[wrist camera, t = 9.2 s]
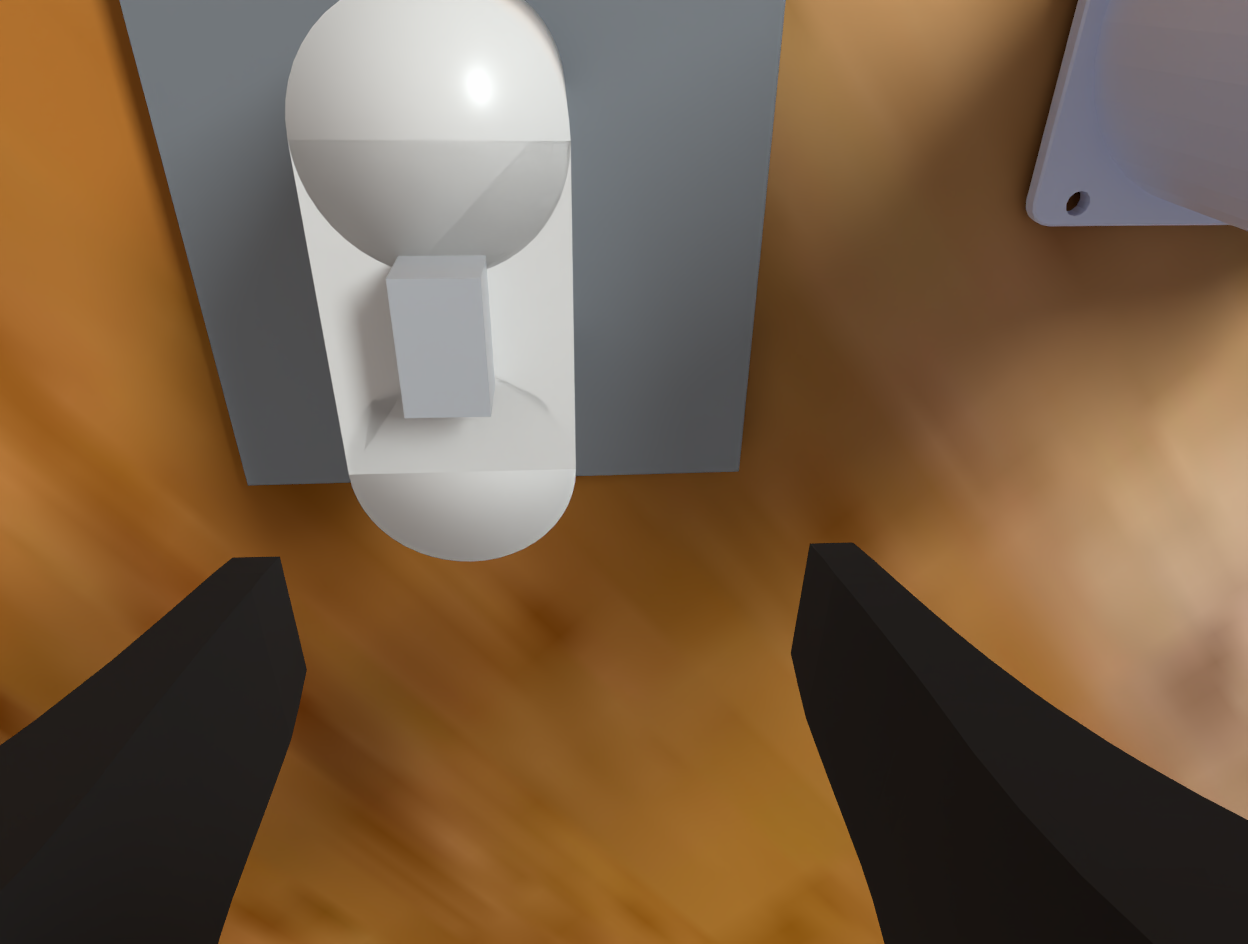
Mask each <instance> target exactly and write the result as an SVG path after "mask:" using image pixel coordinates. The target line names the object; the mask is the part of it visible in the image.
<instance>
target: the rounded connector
mask: <svg viewBox="0 0 1248 944" xmlns="http://www.w3.org/2000/svg"><path fill="white" fill-rule="evenodd" d="M285 123H286V131H287V139H288V145H289V150H290V156H291V161H292V167H293V172H294V178H295V183H296V189H297V194H298V199H299V205H300V210H301V216H302V221H303V227H304V232H305V238H306V243H307V249H308V254H309V260H310V265H311V270H312V276H313V281H314V287H315V292H316V298H317V303H318V309H319V314H320V320H321V325H322V330H323V336H324V341H325V347H326V352H327V358H328V363H329V369H330V374H331V380H332V385H333V391H334V396H335V401H336V407H337V412H338V418H339V423H340V429H341V434H342V440H343V445H344V451H345V456H346V462H347V467H348V472H349V477H350V481H351V485H352V488H353V490H354V493H355V495H356V497H357V499H358V501H359V503H360V504H361V506H362V508H363V509H364V511H365V512H366V513H367V515H368V516H369V517H370V518H371V520H372V521H373V522H374V523H375V524H376V525H377V526H378V527H379V528H380V529H381V530H382V531H384V532H385V533H386V534H387V535H389V536H390V537H391V538H393V539H394V540H396V541H398V542H399V543H401V544H403V545H404V546H406V547H408V548H410V549H413V550H415V551H417V552H420V553H423V554H426V555H428V556H432V557H436V558H440V559H445V560H453V561H483V560H490V559H495V558H500V557H503V556H507V555H510V554H513V553H515V552H517V551H520V550H522V549H524V548H526V547H528V546H529V545H531V544H533V543H535V542H536V541H537V540H539V539H540V538H541V537H543V536H544V535H545V534H546V533H547V532H548V531H549V530H550V529H551V528H552V527H553V526H554V525H555V524H556V523H557V522H558V520H559V519H560V518H561V516H562V515H563V513H564V511H565V510H566V508H567V506H568V504H569V501H570V499H571V496H572V493H573V489H574V484H575V475H576V448H575V384H574V320H573V256H572V192H571V138H570V125H569V116H568V107H567V98H566V90H565V81H564V73H563V68H562V63H561V58H560V55H559V52H558V49H557V46H556V44H555V41H554V39H553V37H552V35H551V33H550V31H549V30H548V28H547V26H546V25H545V23H544V21H543V20H542V19H541V18H540V16H539V15H538V14H537V12H536V11H535V10H534V9H533V8H532V7H531V6H530V5H529V4H528V3H527V2H526V1H525V0H339V1H338V2H337V3H336V4H334V5H333V6H332V7H331V8H330V9H328V10H327V11H326V12H325V13H324V14H323V15H322V16H321V17H320V18H319V20H318V21H317V22H316V23H315V24H314V25H313V26H312V28H311V29H310V31H309V32H308V34H307V36H306V37H305V39H304V40H303V42H302V43H301V46H300V48H299V50H298V52H297V55H296V57H295V59H294V61H293V65H292V68H291V72H290V75H289V79H288V84H287V92H286V99H285Z"/></svg>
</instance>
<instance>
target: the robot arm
mask: <svg viewBox="0 0 1248 944" xmlns="http://www.w3.org/2000/svg"><path fill="white" fill-rule="evenodd" d="M1076 192H1080V200H1079V202H1078V204H1077V206H1075V207H1074V208H1073V209H1072V210H1069V211H1066V203H1067V202H1068V200H1069V198H1070V197H1071V196H1072V195H1073V194H1074V193H1076ZM1026 211H1027V214H1028V216H1029V217H1030V218H1031V219H1032V220H1033V221H1035V222H1037V223H1039V224H1041V225H1045V226H1152V225H1232V226H1235V227H1238V228H1240V229H1243V230H1246V231H1248V0H1078V3H1077V7H1076V10H1075V14H1074V18H1073V22H1072V26H1071V30H1070V34H1069V37H1068V41H1067V45H1066V49H1065V53H1064V57H1063V61H1062V64H1061V68H1060V72H1059V76H1058V80H1057V84H1056V88H1055V91H1054V95H1053V99H1052V103H1051V107H1050V111H1049V115H1048V118H1047V122H1046V126H1045V130H1044V134H1043V138H1042V142H1041V145H1040V149H1039V153H1038V157H1037V161H1036V165H1035V169H1034V172H1033V176H1032V180H1031V184H1030V188H1029V192H1028V196H1027V199H1026ZM791 656H792V660H793V665H794V669H795V674H796V678H797V683H798V687H799V691H800V695H801V699H802V703H803V707H804V712H805V716H806V719H807V722H808V725H809V727H810V730H811V733H812V736H813V738H814V741H815V744H816V747H817V749H818V752H819V755H820V757H821V760H822V763H823V765H824V768H825V771H826V773H827V776H828V779H829V781H830V784H831V787H832V789H833V792H834V795H835V797H836V800H837V802H838V805H839V808H840V810H841V813H842V816H843V818H844V821H845V824H846V826H847V829H848V831H849V834H850V837H851V839H852V842H853V845H854V847H855V850H856V853H857V855H858V858H859V860H860V863H861V866H862V869H863V872H864V875H865V878H866V881H867V884H868V887H869V890H870V893H871V896H872V899H873V903H874V906H875V910H876V914H877V917H878V921H879V925H880V928H881V932H882V936H883V939H884V943H885V944H1248V820H1246V819H1244V818H1243V817H1241V816H1239V815H1237V814H1235V813H1233V812H1231V811H1229V810H1227V809H1225V808H1223V807H1222V806H1220V805H1218V804H1216V803H1214V802H1212V801H1210V800H1208V799H1206V798H1204V797H1202V796H1201V795H1199V794H1197V793H1195V792H1193V791H1192V790H1190V789H1188V788H1186V787H1184V786H1183V785H1181V784H1179V783H1177V782H1176V781H1174V780H1172V779H1170V778H1169V777H1167V776H1165V775H1163V774H1162V773H1160V772H1158V771H1156V770H1155V769H1153V768H1151V767H1149V766H1147V765H1146V764H1144V763H1142V762H1140V761H1139V760H1137V759H1135V758H1134V757H1132V756H1130V755H1129V754H1127V753H1125V752H1124V751H1122V750H1120V749H1119V748H1117V747H1116V746H1114V745H1112V744H1111V743H1109V742H1107V741H1106V740H1104V739H1103V738H1101V737H1100V736H1098V735H1097V734H1095V733H1094V732H1092V731H1090V730H1089V729H1087V728H1086V727H1084V726H1083V725H1081V724H1080V723H1078V722H1077V721H1075V720H1074V719H1072V718H1071V717H1069V716H1068V715H1066V714H1065V713H1063V712H1062V711H1060V710H1058V709H1057V708H1055V707H1054V706H1053V705H1051V704H1050V703H1048V702H1047V701H1045V700H1044V699H1043V698H1041V697H1040V696H1038V695H1037V694H1035V693H1034V692H1033V691H1031V690H1030V689H1029V688H1027V687H1026V686H1025V685H1023V684H1022V683H1021V682H1019V681H1018V680H1017V679H1015V678H1014V677H1013V676H1011V675H1010V674H1009V673H1007V672H1006V671H1005V670H1003V669H1002V668H1001V667H999V666H998V665H997V664H995V663H994V662H993V661H991V660H990V659H989V658H988V657H986V656H985V655H984V654H983V653H981V652H980V651H979V650H978V649H976V648H975V647H974V646H973V645H971V644H970V643H969V642H968V641H966V640H965V639H964V638H963V637H961V636H960V635H959V634H958V633H957V632H955V631H954V630H953V629H952V628H951V627H949V626H948V625H947V624H946V623H945V622H943V621H942V620H941V619H940V618H939V617H938V616H936V615H935V614H934V613H933V612H932V611H931V610H929V609H928V608H927V607H926V606H925V605H924V604H923V603H921V602H920V601H919V600H918V599H917V598H916V597H915V596H913V595H912V594H911V593H910V592H909V591H908V590H907V589H905V588H904V587H903V586H902V585H901V584H900V583H899V582H898V581H896V580H895V579H894V578H893V577H892V576H891V575H890V574H889V573H887V572H886V571H885V570H884V569H883V568H882V567H881V566H880V565H878V564H877V563H876V562H875V561H874V560H873V559H872V558H870V557H869V556H868V555H867V554H866V553H865V552H863V551H862V550H861V549H860V548H859V547H857V546H856V545H855V544H854V543H818V544H810V547H809V552H808V558H807V564H806V570H805V575H804V581H803V587H802V592H801V598H800V604H799V609H798V615H797V621H796V627H795V632H794V638H793V644H792V649H791ZM306 671H307V669H306V665H305V661H304V656H303V652H302V648H301V644H300V640H299V635H298V631H297V627H296V623H295V619H294V614H293V610H292V606H291V602H290V598H289V594H288V589H287V585H286V581H285V577H284V573H283V568H282V564H281V560H280V557H245V558H232V559H231V560H229V561H228V562H227V563H225V564H224V565H223V566H222V567H220V568H219V569H218V570H217V571H216V572H215V573H213V574H212V575H211V576H210V577H209V578H207V579H206V580H205V581H204V582H203V583H202V584H201V585H199V586H198V587H197V588H196V589H195V590H194V591H192V592H191V593H190V594H189V595H188V596H187V597H186V598H184V599H183V600H182V601H181V602H180V603H179V604H178V605H176V606H175V607H174V608H173V609H172V610H171V611H170V612H168V613H167V614H166V615H165V616H164V617H163V618H161V619H160V620H159V621H158V622H157V623H156V624H154V625H153V626H152V627H151V628H150V629H148V630H147V631H146V632H145V633H144V634H143V635H141V636H140V637H139V638H138V639H137V640H135V641H134V642H133V643H132V644H131V645H130V646H128V647H127V648H126V649H125V650H124V651H122V652H121V653H120V654H119V655H118V656H117V657H115V658H114V659H113V660H112V661H111V662H109V663H108V664H107V665H106V666H104V667H103V668H102V669H100V670H99V671H98V672H97V673H95V674H94V675H93V676H91V677H90V678H89V679H88V680H86V681H85V682H84V683H82V684H81V685H80V686H79V687H77V688H76V689H75V690H73V691H72V692H71V693H70V694H68V695H67V696H66V697H64V698H63V699H62V700H61V701H59V702H58V703H57V704H56V705H54V706H53V707H52V708H50V709H49V710H48V711H47V712H45V713H44V714H43V715H41V716H40V717H39V718H38V719H36V720H35V721H33V722H32V723H31V724H29V725H28V726H27V727H25V728H24V729H23V730H21V731H20V732H18V733H17V734H16V735H14V736H13V737H11V738H10V739H9V740H7V741H6V742H4V743H3V744H1V745H0V944H218V942H219V938H220V935H221V932H222V929H223V926H224V923H225V920H226V917H227V913H228V910H229V907H230V904H231V901H232V898H233V896H234V893H235V890H236V888H237V885H238V882H239V880H240V877H241V874H242V871H243V869H244V866H245V863H246V861H247V858H248V855H249V853H250V850H251V847H252V845H253V842H254V839H255V837H256V834H257V831H258V829H259V826H260V823H261V820H262V818H263V815H264V812H265V810H266V807H267V804H268V802H269V799H270V796H271V794H272V791H273V788H274V785H275V783H276V780H277V777H278V774H279V772H280V769H281V766H282V763H283V761H284V758H285V755H286V752H287V749H288V747H289V744H290V741H291V738H292V733H293V729H294V725H295V721H296V717H297V712H298V708H299V704H300V699H301V694H302V689H303V685H304V680H305V675H306Z"/></svg>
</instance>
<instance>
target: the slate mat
mask: <svg viewBox="0 0 1248 944" xmlns="http://www.w3.org/2000/svg"><path fill="white" fill-rule="evenodd" d="M119 1H120V5H121V8H122V12H123V16H124V20H125V24H126V27H127V31H128V35H129V39H130V42H131V46H132V50H133V54H134V58H135V61H136V65H137V69H138V73H139V76H140V80H141V84H142V88H143V91H144V95H145V99H146V103H147V107H148V110H149V114H150V118H151V122H152V125H153V129H154V133H155V137H156V141H157V144H158V148H159V152H160V156H161V159H162V163H163V167H164V171H165V174H166V178H167V182H168V186H169V190H170V193H171V197H172V201H173V205H174V208H175V212H176V216H177V220H178V223H179V227H180V231H181V235H182V239H183V242H184V246H185V250H186V254H187V257H188V261H189V265H190V269H191V273H192V276H193V280H194V284H195V288H196V291H197V295H198V299H199V303H200V306H201V310H202V314H203V318H204V322H205V325H206V329H207V333H208V337H209V340H210V344H211V348H212V352H213V355H214V359H215V363H216V367H217V371H218V374H219V378H220V382H221V386H222V389H223V393H224V397H225V401H226V405H227V408H228V412H229V416H230V420H231V423H232V427H233V431H234V435H235V438H236V442H237V446H238V450H239V454H240V457H241V461H242V465H243V469H244V472H245V476H246V480H247V484H248V485H279V484H315V483H350V482H351V481H350V477H349V472H348V467H347V462H346V456H345V451H344V445H343V440H342V434H341V429H340V423H339V418H338V412H337V407H336V401H335V396H334V391H333V385H332V380H331V374H330V369H329V363H328V358H327V352H326V347H325V341H324V336H323V330H322V325H321V320H320V314H319V309H318V303H317V298H316V292H315V287H314V281H313V276H312V270H311V265H310V260H309V254H308V249H307V243H306V238H305V232H304V227H303V221H302V216H301V210H300V205H299V199H298V194H297V189H296V183H295V178H294V172H293V167H292V161H291V156H290V150H289V145H288V139H287V131H286V123H285V99H286V92H287V84H288V79H289V75H290V72H291V68H292V65H293V61H294V59H295V57H296V55H297V52H298V50H299V48H300V46H301V43H302V42H303V40H304V39H305V37H306V36H307V34H308V32H309V31H310V29H311V28H312V26H313V25H314V24H315V23H316V22H317V21H318V20H319V18H320V17H321V16H322V15H323V14H324V13H325V12H326V11H327V10H328V9H330V8H331V7H332V6H333V5H334V4H336V3H337V2H338V1H339V0H119ZM525 1H526V2H527V3H528V4H529V5H530V6H531V7H532V8H533V9H534V10H535V11H536V12H537V14H538V15H539V16H540V18H541V19H542V20H543V21H544V23H545V25H546V26H547V28H548V30H549V31H550V33H551V35H552V37H553V39H554V41H555V44H556V46H557V49H558V52H559V55H560V58H561V63H562V68H563V73H564V81H565V90H566V98H567V107H568V116H569V125H570V138H571V192H572V256H573V320H574V384H575V448H576V475H575V476H596V475H631V474H666V473H701V472H736V471H739V464H740V454H741V444H742V434H743V424H744V414H745V404H746V394H747V384H748V374H749V363H750V353H751V343H752V333H753V323H754V313H755V303H756V293H757V283H758V273H759V263H760V253H761V243H762V232H763V222H764V212H765V202H766V192H767V182H768V172H769V162H770V152H771V142H772V132H773V122H774V112H775V102H776V91H777V81H778V71H779V61H780V51H781V41H782V31H783V21H784V11H785V1H786V0H525Z"/></svg>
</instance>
